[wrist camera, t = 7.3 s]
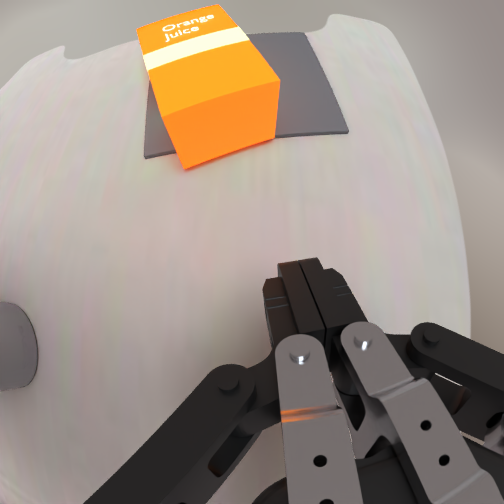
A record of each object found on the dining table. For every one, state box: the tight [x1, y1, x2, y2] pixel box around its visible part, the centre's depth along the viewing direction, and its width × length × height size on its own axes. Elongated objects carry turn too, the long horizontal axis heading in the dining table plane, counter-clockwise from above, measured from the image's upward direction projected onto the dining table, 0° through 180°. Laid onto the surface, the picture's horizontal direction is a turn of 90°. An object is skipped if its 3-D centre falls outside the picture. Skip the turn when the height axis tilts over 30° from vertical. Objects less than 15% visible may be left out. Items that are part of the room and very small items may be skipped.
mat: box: [144, 32, 349, 159], centre depth 28 cm, size 20×18×1 cm
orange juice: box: [137, 5, 280, 169], centre depth 24 cm, size 8×9×20 cm
